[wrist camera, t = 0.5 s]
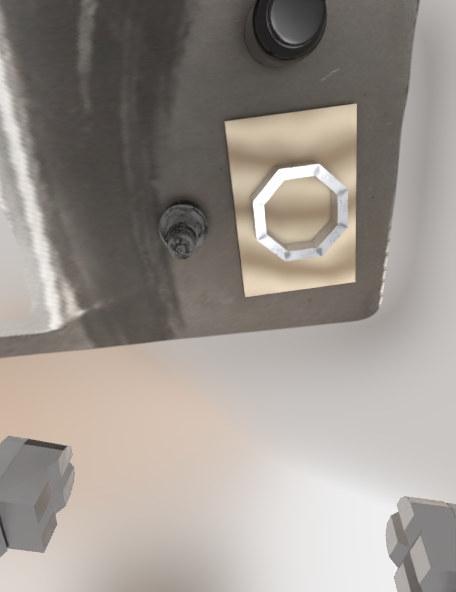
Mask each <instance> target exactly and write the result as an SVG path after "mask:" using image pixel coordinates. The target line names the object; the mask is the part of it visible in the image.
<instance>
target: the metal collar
mask: <svg viewBox="0 0 456 592" xmlns="http://www.w3.org/2000/svg"><path fill="white" fill-rule="evenodd" d="M308 176H315V177H316V178H317V179H318V180H319V181H320V182H322V183H323V184H324V185H325V186H326V187H327V188H328V189H330V211H331V219H330V220H329V221H328V222H327V223H326V224H325V225H324V227H323V228H322V229H321V230H320V231H319V232H318V233H317V235H316V236H315V237H314V238H313V239H312V240H310V241H303V242H296V243H288V244H283V243H282V242H281V241H279V240H278V239H277V238H276V237H274V236H273V235H272V234H270V233H269V232H268V231H266V224H265V212H264V204H265V203H266V202H267V200H268V199H269V198H270V197H271V195H272V194H273V193H274V192H275V190H276V189H277V188H278V187H279V185H280V184H281V183H282V182H283V181H284V180H286V179H293V178H301V177H308ZM250 199H251V210H252V220H253V230H254V235H255V237H256V239H257V240H258V241H259V242H260V243H262V244H263V245H264V246H266V247H267V248H268V249H269V250H271V251H272V252H273V253H275V254H276V255H277V256H279V257H280V258H281V259H283V260H284V261H292V260H299V259H306V258H313V257H321V256H323V255H324V253H325V252H326V251H327V250H328V249H329V248H330V247H331V246H332V245H333V243H334V242H335V241H336V240H337V239H338V238H339V237H340V236H341V234H342V233H343V232H344V231H345V230H346V229H347V228H348V189H347V188H346V187H345V186H344V185H343V184H342V183H340V182H339V181H338V180H337V179H336V178H335V177H334V176H333V175H331V174H330V173H329V172H328V171H327V170H326V169H325V168H323V167H322V166H321V165H320V164H319V163H317V162H315V161H306V162H299V163H291V164H284V165H277V166H274V167H273V168H272V170H271V171H270V172H269V173H268V175H267V176H266V177H265V179H264V180H263V181H262V182H261V184H260V185H259V186H258V187H257V189H256V190H255V191H254V193H253V194H252V195H251V196H250Z"/></svg>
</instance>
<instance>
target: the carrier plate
mask: <svg viewBox="0 0 456 592" xmlns="http://www.w3.org/2000/svg"><path fill="white" fill-rule="evenodd" d="M224 124H225V132H226V141H227V149H228V158H229V167H230V175H231V184H232V192H233V201H234V210H235V218H236V227H237V235H238V244H239V253H240V261H241V270H242V278H243V287H244V294H245V297H249V296H257V295H264V294H271V293H278V292H285V291H293V290H300V289H307V288H314V287H322V286H329V285H336V284H343V283H350V282H355V245H356V138H357V104H347V105H340V106H332V107H325V108H318V109H310V110H303V111H295V112H288V113H281V114H273V115H266V116H259V117H251V118H244V119H237V120H229V121H224ZM306 161H315V162H317V163H319V164H320V165H321V166H322V167H323V168H325V169H326V170H327V171H328V172H329V173H330V174H331V175H333V176H334V177H335V178H336V179H337V180H338V181H339V182H340V183H342V184H343V185H344V186H345V187H346V188H347V189H348V228H347V229H346V230H345V231H344V232H343V233H342V234H341V236H340V237H339V238H338V239H337V240H336V241H335V242H334V243H333V245H332V246H331V247H330V248H329V249H328V250H327V251H326V252H325V253H324V255H323V256H321V257H313V258H306V259H299V260H292V261H284V260H283V259H281V258H280V257H279V256H277V255H276V254H275V253H273V252H272V251H271V250H269V249H268V248H267V247H266V246H264V245H263V244H262V243H260V242H259V241H258V240H257V239H256V237H255V235H254V230H253V220H252V210H251V199H250V196H251V195H252V194H253V193H254V191H255V190H256V189H257V187H258V186H259V185H260V184H261V182H262V181H263V180H264V179H265V177H266V176H267V175H268V173H269V172H270V171H271V170H272V168H273V167H274V166H277V165H284V164H291V163H299V162H306ZM264 212H265V224H266V231H268V232H269V233H270V234H272V235H273V236H274V237H276V238H277V239H278V240H279V241H281V242H282V243H283V244H288V243H296V242H303V241H310V240H312V239H313V238H314V237H315V236H316V235H317V233H318V232H319V231H320V230H321V229H322V228H323V227H324V225H325V224H326V223H327V222H328V221H329V220H330V219H331V211H330V189H328V188H327V187H326V186H325V185H324V184H323V183H322V182H320V181H319V180H318V179H317V178H316V177H315V176H308V177H301V178H293V179H286V180H284V181H283V182H282V183H281V184H280V185H279V187H278V188H277V189H276V190H275V192H274V193H273V194H272V195H271V197H270V198H269V199H268V200H267V202H266V203H265V204H264Z"/></svg>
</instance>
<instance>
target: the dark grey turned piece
mask: <svg viewBox="0 0 456 592" xmlns="http://www.w3.org/2000/svg"><path fill="white" fill-rule="evenodd" d="M159 234H160V237H161V239H162V241H163V242H164V243H165V244H166V245H167V246H168V249H169V252H170V253H171V255H172V256H173V257H175V258H177V259H186V258H188V257H190V256H191V255H192V253H193V252H194V250H195V249H197V248H199V247H200V246H201V245H202V244H203V243H204V241H205V239H206V237H207V234H208V224H207V220H206V218H205V217H204V214H203V212H202V210H201V209H200V208H199V206H198V205H196V204H194V203H193V202H190V201H177V202H175V203H173V204H171V205H170V206H169V207H168V208H167V210H166V211H165V212H164V213H163V215H162V217H161V218H160V222H159Z"/></svg>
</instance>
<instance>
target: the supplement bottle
mask: <svg viewBox="0 0 456 592" xmlns="http://www.w3.org/2000/svg"><path fill="white" fill-rule="evenodd" d="M326 21H327V10H326V3H325V0H255V2H254V4H253V6H252V7H251V9H250V11H249V13H248V16H247V19H246V23H245V41H246V45H247V48H248V50H249V52H250V54H251V55H252V56H253V58H254V59H255V60H256V61H258V62H259V63H260V64H262V65H264V66H267V67H272V68H278V67H283V66H286V65H289V64H291V63H294V62H297V61H299V60H301V59H303V58H305V57H306V56H308V55H309V54H310V53H311V52H312V51H313V50H314V49H315V48H316V47H317V45H318V44H319V42H320V40H321V38H322V36H323V34H324V31H325V27H326Z"/></svg>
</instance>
